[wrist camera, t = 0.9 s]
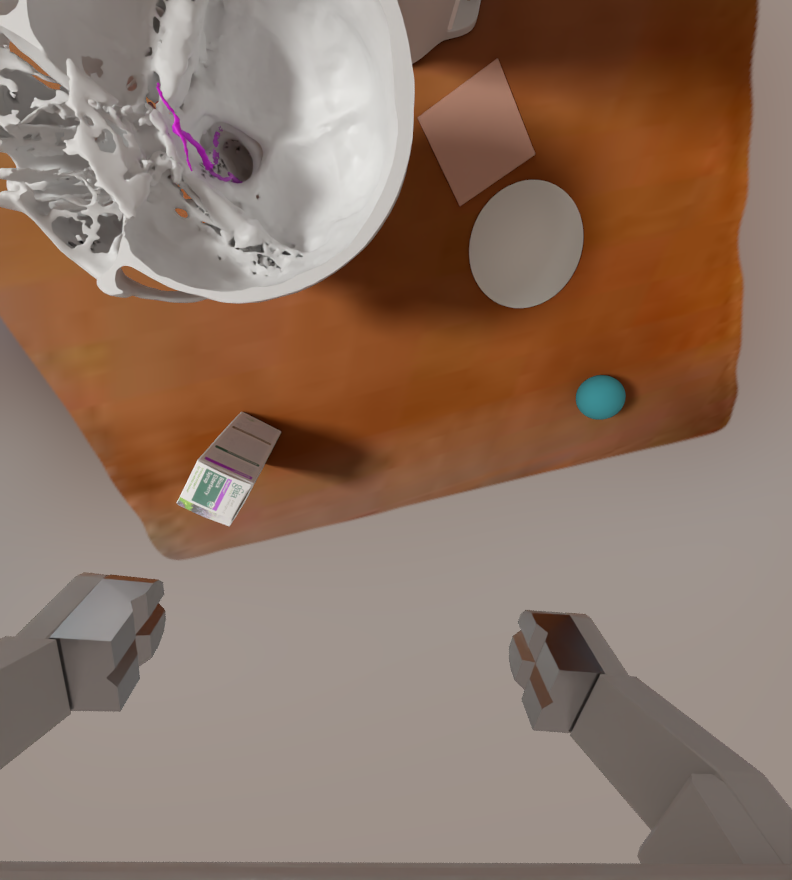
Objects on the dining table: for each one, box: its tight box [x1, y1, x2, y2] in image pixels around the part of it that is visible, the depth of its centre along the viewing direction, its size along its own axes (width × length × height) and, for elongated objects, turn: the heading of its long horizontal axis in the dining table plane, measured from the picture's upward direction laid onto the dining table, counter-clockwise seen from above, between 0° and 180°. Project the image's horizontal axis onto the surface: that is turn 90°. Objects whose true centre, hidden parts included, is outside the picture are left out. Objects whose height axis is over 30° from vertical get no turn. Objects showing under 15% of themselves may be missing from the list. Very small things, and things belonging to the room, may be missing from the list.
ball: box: [576, 375, 626, 419], centre depth 49 cm, size 6×6×6 cm
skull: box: [0, 0, 415, 303], centre depth 31 cm, size 25×19×23 cm
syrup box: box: [177, 412, 281, 526], centre depth 44 cm, size 6×6×14 cm
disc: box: [469, 180, 583, 308], centre depth 44 cm, size 13×13×1 cm
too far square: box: [418, 58, 535, 206], centre depth 40 cm, size 9×9×1 cm
